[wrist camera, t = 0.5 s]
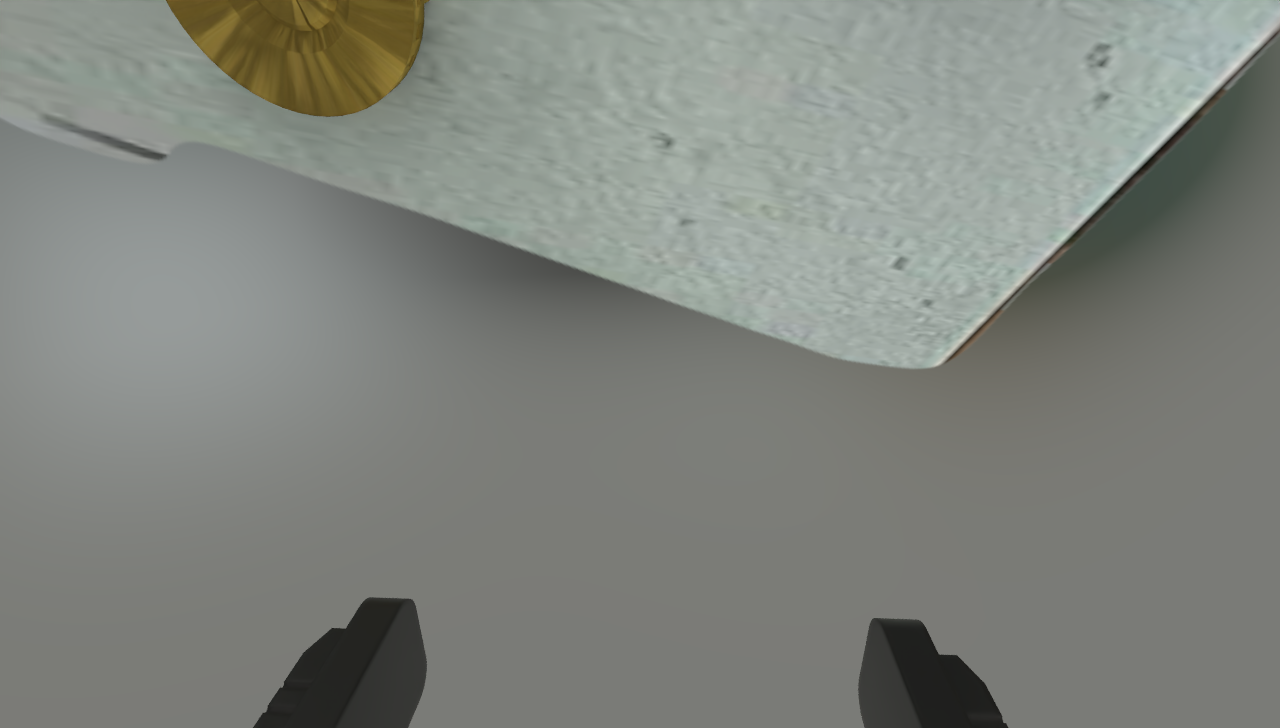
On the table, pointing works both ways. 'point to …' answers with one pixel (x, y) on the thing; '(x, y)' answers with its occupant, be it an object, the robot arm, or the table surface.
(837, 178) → the table surface
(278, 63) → the golden brown disc
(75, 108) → the table surface
